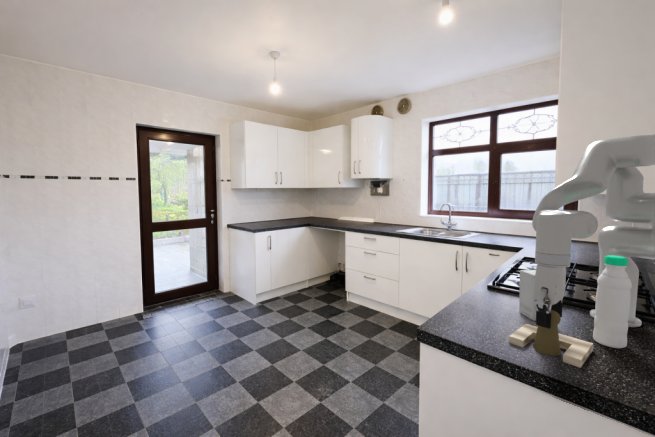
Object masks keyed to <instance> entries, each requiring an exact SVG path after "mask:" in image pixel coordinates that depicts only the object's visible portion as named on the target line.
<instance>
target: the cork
mask: <svg viewBox="0 0 655 437" xmlns="http://www.w3.org/2000/svg"><path fill="white" fill-rule="evenodd" d="M550 313H552V315H551V328H550V329H548V328H545V327H541V326H538V325H537V327H538V328H537V332H536V337H535V339H534V342H533V346H532V348H533V350H535V351H537V352H538V353H540V354H542V355H547V356H552V357H557V356H560V355H561V348H560V345H559V334H558V333H559V326H558V325H559V324H560V323H561V318H562V317H560V315H559V314H558V313H557V312H555V311H553V310H551V311H550Z"/></svg>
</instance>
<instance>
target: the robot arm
mask: <svg viewBox="0 0 655 437" xmlns="http://www.w3.org/2000/svg"><path fill="white" fill-rule="evenodd" d="M654 165H655V134H643V135H641V134H640V135H639V134H638V135H632V136H631V135H630V136H625V137H624V136H623V137H615V138H607V139H601V140H597V141H593V142H592V143H590V144H589V145H588V146H587V147H586V148H585V149H584V152H583V154H582V156H581V158H580V160H579V162H578V164H577V166H576V168H575V170H574V171H573V173H572V176H571V177H570V178H569V179H567V180H566V181H564V182H563V183H561V184H559V185H557V186H556V187H553V189H552V190H550V191H548V192H547V193H546V194H545V195H544V196H543V197H542V198H541V200H540V202H539V204H538V205H537V207H536V209H535V211H534V213H533V217H532V221H531V223H532V224H531V225H532V228H533V230H534V231H535V234H536V235H535V252H534V253H535V254H534V263H535V264H536V269H535V270H536V273H535V281H534V291H533V300H534V301H537V305H536V306H537V308H536V321H535V325H536V326H537V327H538V326H541V327H545V328H548V329H550V328H551V315H552V313H550V311H551V310H553V311H555V312H557V313H558V314H559V315H560V317H561V318H562V317H563V310H564V309H563V306H564V304H563V301H564V299H563V298H565V292H566V275H567V274H566V272H567V271H566V268H570V267H571V254H572V239H577V240H581V239H585V240H586V239H588V238H591V237H593V235H595V233H596V231H597V230H598V227H599V223H598V222H599V221H598V218H597V217H596V216H595V214H593V213H591V212H589V211H586V210H576V209H575V210H573V209H572V210H571V209H561V208H562V207H564V206H566V205H568V204H571V203H575V202H577V201H581V200H585V199H588V198H591V197H595V196H598V195H601V194H602V193H604V192H605V191H606V192H605V216H606V217H607V219H608V220H610V221H612V222H618V223H630V224H631V223H634V224H644V225H645V224H646V225H647V224H648V225H650V226H651V227H650V228H649V227H638V226H626V225H610V226H605V227H604V228H602V229H600V231H599V232H598V234H597V244H598V251H599V267H598V277H599V276H600V275H601V274H602V272H603V270H605V268H606V265H605V263H604V258H605V256H608V255H614V256H622V257H625V258H627V259H628V264H627V267H626V268H625V272H626V273H627V275H628V278H629V279H630V281H631V283H632V287H631V289H630V293H631V299H630V311H629V317H628V328H638V327H641V326H642V320H641V319H640V318H638V317H636V309H637V299H638V289H639V288H638V287H639V276H640V271H639V270H640V269H639V268H638V266H637V264H636V263H635V262H634V261H633V259H632V258H640V259H648V260H655V192H644V175H643V173H642V172H641V171H640V170H639V169H638V168H639V167H650V166H654ZM637 167H638V168H637ZM631 257H632V258H631ZM546 300H549V301H546ZM545 304H547V305H548V307H547V306H546V305H545ZM589 315H590V316H591V318H593V319H595V315H596V311H595V309H591V310H589Z"/></svg>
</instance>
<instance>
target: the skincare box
mask: <svg viewBox="0 0 655 437" xmlns="http://www.w3.org/2000/svg"><path fill="white" fill-rule="evenodd" d="M535 273H536V269H523V270H522V269H521V270H519V300H518V301H519V304H518V305H519V307H518V308H519V309H518V310H519V311H518V312H519V313H520V314H521V315H523V316H525V317H527V318H528V319H530V320H531V321H532V322H533V321H535V322H536V308H537V306H536V305H537V301H534V300H533V291H534V281H535ZM546 301H549V300H546ZM545 305H546V306H547V307H548V305H547V304H545Z"/></svg>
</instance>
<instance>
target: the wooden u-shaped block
mask: <svg viewBox="0 0 655 437" xmlns="http://www.w3.org/2000/svg"><path fill="white" fill-rule="evenodd" d="M537 328H538V326H537V325H536V326H535V325H532V324H529V323H524V324H523V325H522V326H521V327H519V328H518V329H517V330H515V331H514V332H513V333H511V334H509V335H508V336H509V337H508V343H509V344H511V345H514V346H517V347H519V348H522V349H523V348H524V347H525V346H527V344H529V343H530V342H531V341H532V340H535V337H536V332H537ZM558 334H559V345H560V349H563V350H566V351H565V352H564V353H563V354H562V356H563V357H562V362H563V363H565V364H568V365H571V366H574V367H577V368H582V366H583V365H584V364H585V362H586V361H587V360H588V358H589V357H590V356H591V354H592V352H594V343H593V342H590V341H587V340H584V339H579V338H576V337H573V336H570V335H566V334H564V333H559V332H558Z"/></svg>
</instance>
